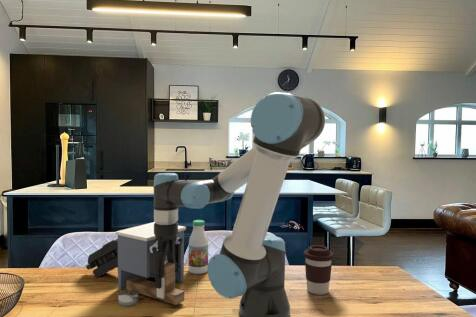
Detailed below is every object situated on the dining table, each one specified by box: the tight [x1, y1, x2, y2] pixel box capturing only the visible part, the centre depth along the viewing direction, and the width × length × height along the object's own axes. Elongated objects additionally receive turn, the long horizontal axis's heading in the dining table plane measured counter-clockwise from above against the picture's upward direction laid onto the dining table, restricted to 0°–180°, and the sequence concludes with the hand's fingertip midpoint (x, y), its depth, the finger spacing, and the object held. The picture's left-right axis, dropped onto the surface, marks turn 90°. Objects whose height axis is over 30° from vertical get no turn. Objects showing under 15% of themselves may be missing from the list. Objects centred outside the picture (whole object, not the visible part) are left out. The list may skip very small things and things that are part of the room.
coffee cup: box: [303, 244, 334, 296], centre depth 123 cm, size 10×10×15 cm
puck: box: [117, 290, 139, 308], centre depth 112 cm, size 6×6×3 cm
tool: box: [85, 238, 118, 278], centre depth 135 cm, size 6×19×15 cm, turn 78°
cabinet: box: [115, 221, 187, 291], centre depth 126 cm, size 15×19×20 cm
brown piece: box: [126, 261, 185, 306], centre depth 116 cm, size 22×4×11 cm, turn 58°
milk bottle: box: [187, 219, 209, 275], centre depth 140 cm, size 8×8×20 cm
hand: (165, 294), depth 114 cm, fingers closed on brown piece, 4 cm apart
